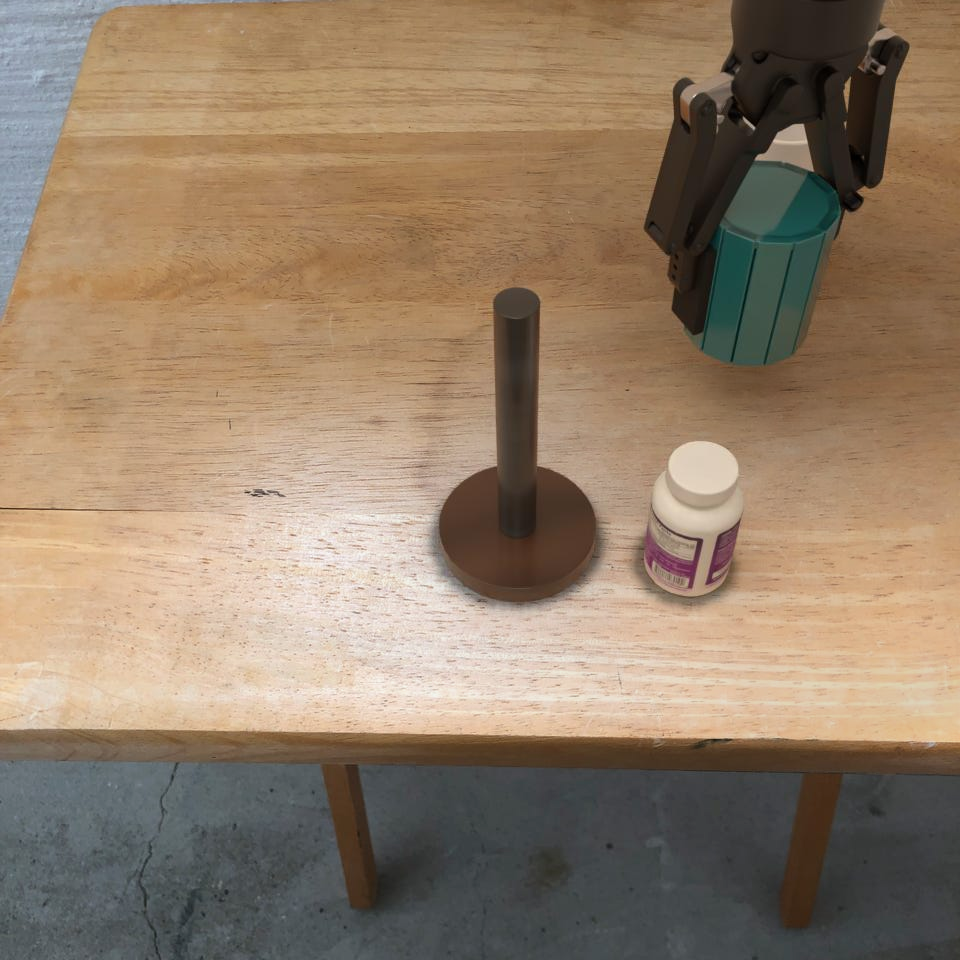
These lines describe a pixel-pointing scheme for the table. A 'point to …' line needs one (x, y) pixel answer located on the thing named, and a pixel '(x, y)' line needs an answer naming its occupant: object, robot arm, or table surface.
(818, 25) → the robot arm
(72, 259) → the table surface
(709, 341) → the teal fluted cylinder
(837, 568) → the table surface
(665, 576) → the pill bottle
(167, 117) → the table surface
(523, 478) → the towel holder
